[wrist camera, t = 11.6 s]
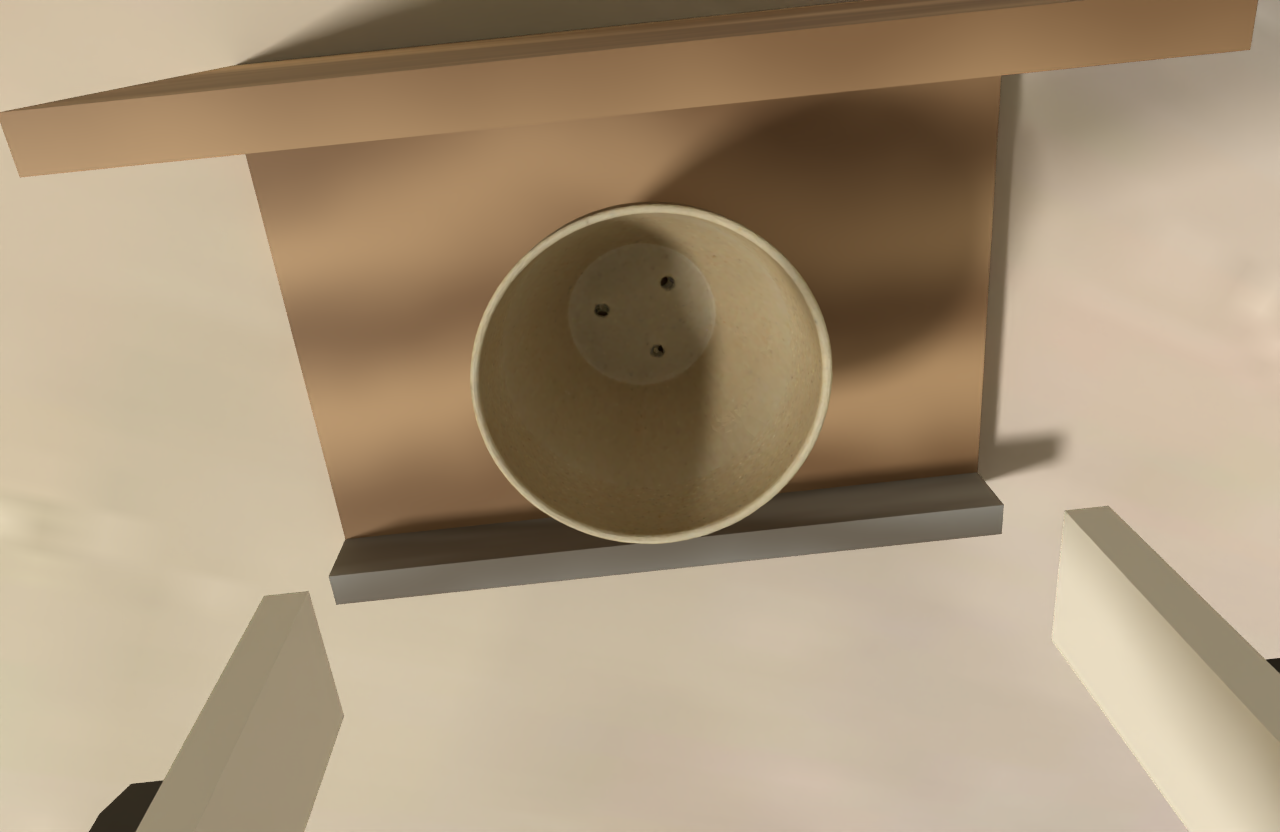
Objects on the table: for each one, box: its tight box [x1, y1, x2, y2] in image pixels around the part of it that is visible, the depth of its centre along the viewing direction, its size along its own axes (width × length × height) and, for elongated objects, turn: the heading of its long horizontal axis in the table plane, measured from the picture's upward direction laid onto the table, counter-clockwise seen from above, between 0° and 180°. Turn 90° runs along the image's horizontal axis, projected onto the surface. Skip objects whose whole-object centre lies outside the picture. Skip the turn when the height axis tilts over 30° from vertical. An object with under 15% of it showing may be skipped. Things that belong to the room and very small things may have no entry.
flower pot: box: [470, 201, 833, 544], centre depth 29 cm, size 10×10×7 cm
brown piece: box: [0, 0, 1258, 605], centre depth 27 cm, size 18×24×13 cm
